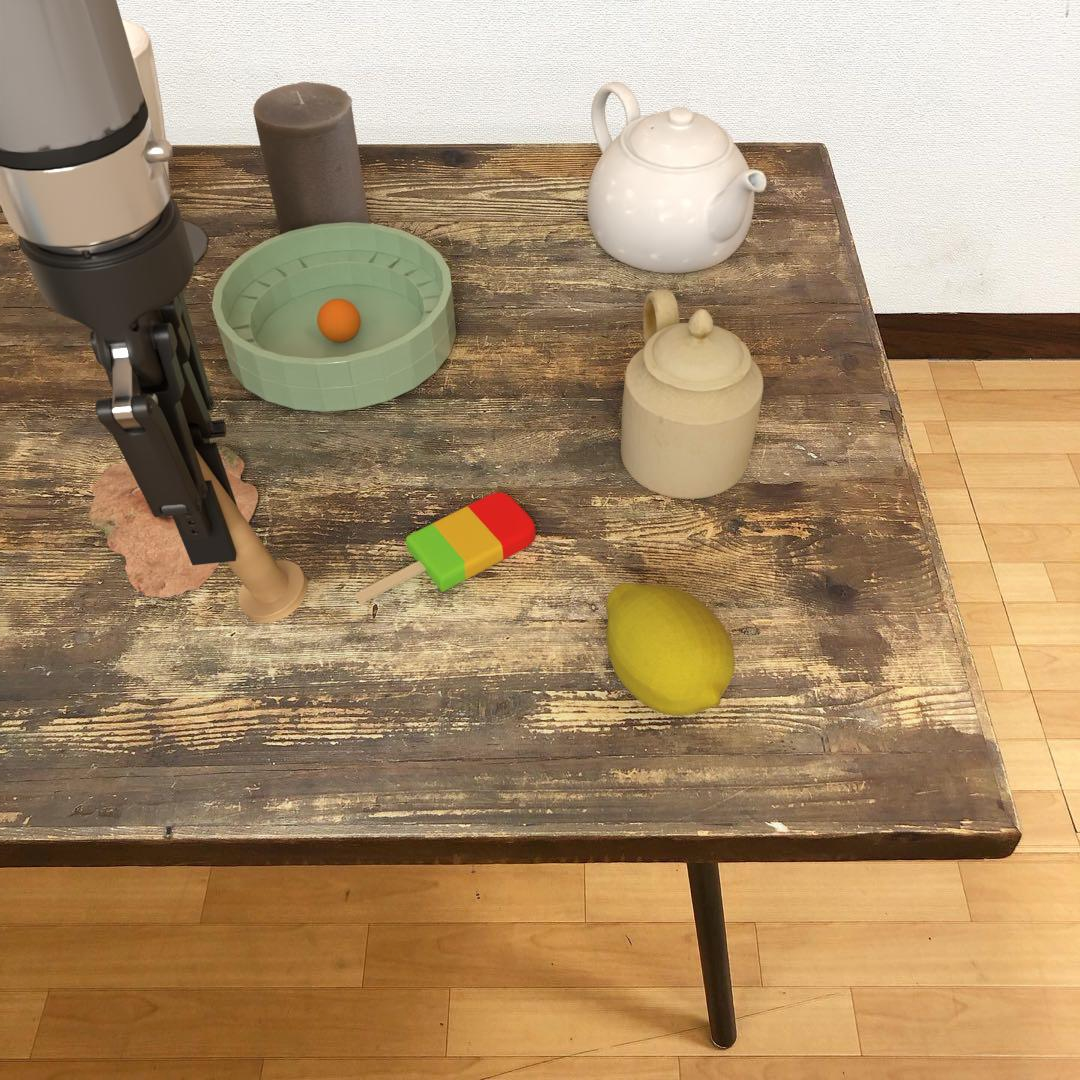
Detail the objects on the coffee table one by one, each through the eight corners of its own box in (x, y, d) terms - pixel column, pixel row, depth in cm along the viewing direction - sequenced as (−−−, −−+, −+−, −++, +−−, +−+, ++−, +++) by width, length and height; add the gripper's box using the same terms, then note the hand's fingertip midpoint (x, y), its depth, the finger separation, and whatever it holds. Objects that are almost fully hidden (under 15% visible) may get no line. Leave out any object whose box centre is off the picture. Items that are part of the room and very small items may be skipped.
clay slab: (237, 592, 82) (228, 566, 80) (63, 598, 82) (49, 573, 79) (263, 457, 92) (255, 431, 89) (107, 463, 91) (95, 437, 89)
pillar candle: (283, 258, 111) (252, 120, 100) (276, 209, 118) (246, 74, 106) (376, 244, 113) (355, 107, 101) (364, 196, 119) (343, 62, 108)
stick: (229, 613, 73) (100, 455, 61) (269, 560, 76) (151, 397, 64) (282, 631, 71) (158, 469, 59) (321, 575, 73) (209, 409, 62)
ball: (302, 310, 98) (325, 345, 98) (337, 284, 98) (360, 319, 97) (318, 321, 102) (340, 355, 102) (352, 297, 102) (374, 330, 101)
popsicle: (542, 541, 85) (542, 526, 83) (376, 630, 79) (372, 615, 78) (503, 500, 88) (502, 485, 86) (341, 583, 82) (337, 567, 81)
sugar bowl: (562, 428, 93) (562, 283, 82) (651, 373, 98) (663, 229, 87) (687, 522, 86) (705, 376, 75) (777, 457, 91) (807, 311, 79)
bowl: (218, 426, 94) (201, 373, 90) (236, 283, 109) (222, 231, 104) (463, 405, 96) (458, 352, 91) (449, 266, 110) (444, 214, 105)
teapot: (758, 193, 118) (776, 71, 108) (750, 290, 106) (770, 163, 96) (591, 179, 121) (593, 59, 111) (564, 274, 109) (565, 148, 99)
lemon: (753, 718, 74) (770, 650, 68) (654, 762, 72) (662, 696, 66) (673, 607, 80) (682, 536, 74) (580, 644, 78) (582, 574, 72)
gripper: (155, 304, 46) (269, 630, 64) (192, 127, 56) (281, 450, 74) (-23, 319, 46) (141, 644, 63) (46, 138, 56) (171, 460, 74)
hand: (216, 539), depth 69 cm, fingers closed on stick, 2 cm apart
